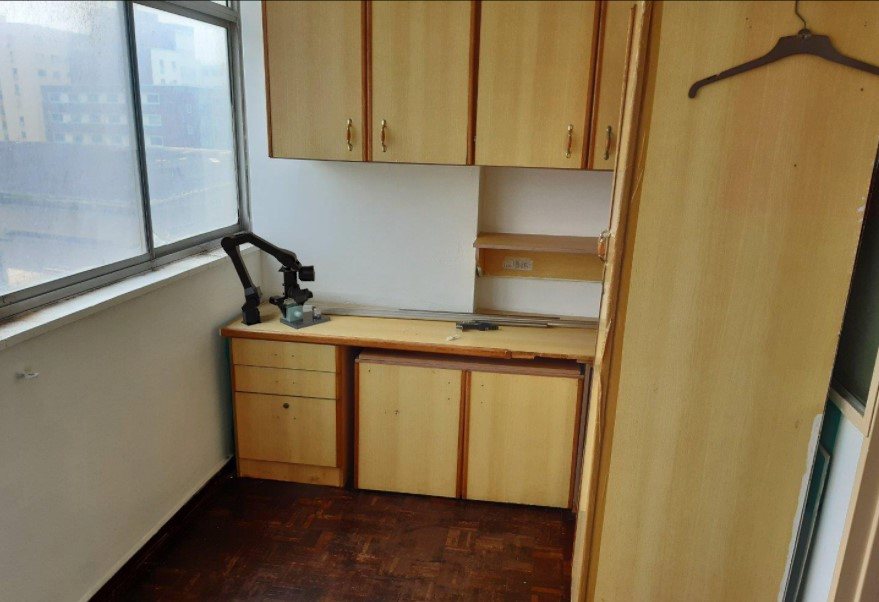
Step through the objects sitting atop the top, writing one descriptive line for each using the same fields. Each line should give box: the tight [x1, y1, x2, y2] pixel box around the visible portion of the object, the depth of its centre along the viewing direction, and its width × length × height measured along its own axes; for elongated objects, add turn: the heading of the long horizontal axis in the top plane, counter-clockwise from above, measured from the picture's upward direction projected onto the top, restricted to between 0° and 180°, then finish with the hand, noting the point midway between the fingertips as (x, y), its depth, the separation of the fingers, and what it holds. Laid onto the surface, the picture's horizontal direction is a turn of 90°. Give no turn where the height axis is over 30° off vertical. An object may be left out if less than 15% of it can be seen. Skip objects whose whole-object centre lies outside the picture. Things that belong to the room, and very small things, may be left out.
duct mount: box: [279, 304, 331, 330], centre depth 279 cm, size 17×13×6 cm
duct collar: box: [280, 301, 304, 322], centre depth 276 cm, size 7×10×6 cm
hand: (292, 316), depth 278 cm, fingers closed on duct collar, 7 cm apart
